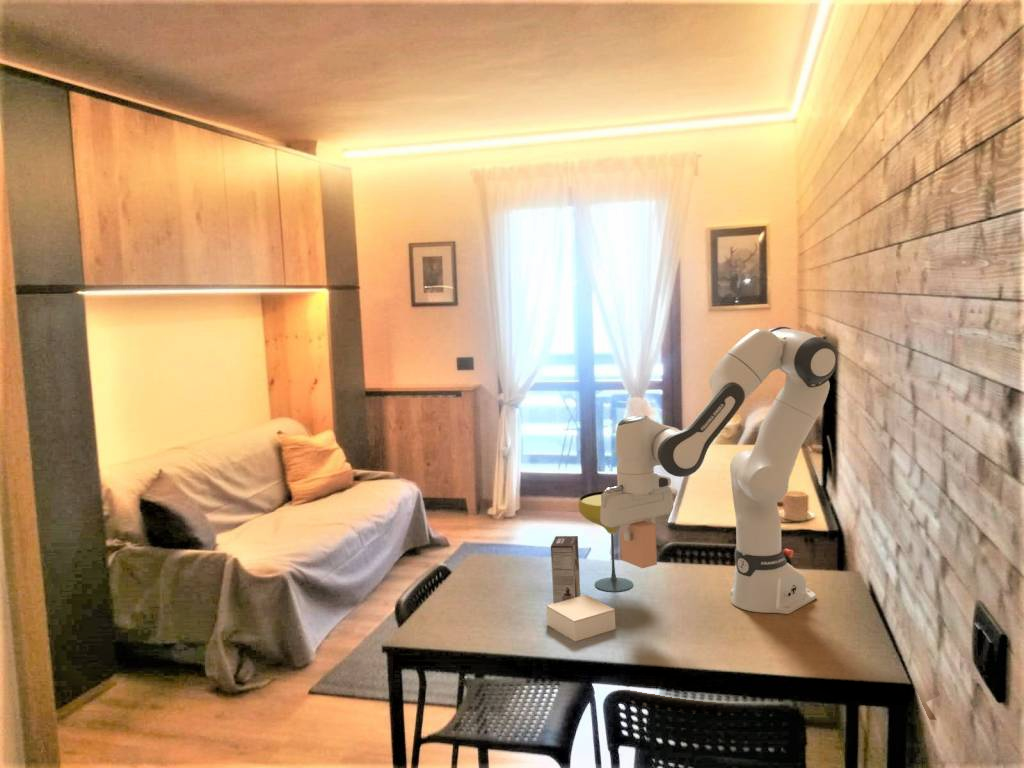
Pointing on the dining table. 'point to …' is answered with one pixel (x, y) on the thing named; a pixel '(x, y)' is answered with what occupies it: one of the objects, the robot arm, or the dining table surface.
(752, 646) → the dining table surface
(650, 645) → the dining table surface
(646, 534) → the carton
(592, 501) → the cocktail glass
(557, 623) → the podium
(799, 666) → the dining table surface
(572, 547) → the coffee box
